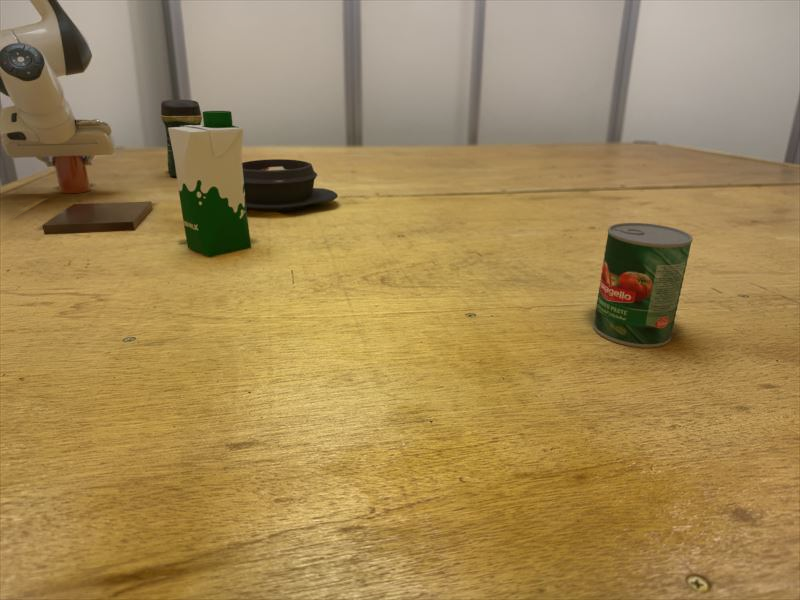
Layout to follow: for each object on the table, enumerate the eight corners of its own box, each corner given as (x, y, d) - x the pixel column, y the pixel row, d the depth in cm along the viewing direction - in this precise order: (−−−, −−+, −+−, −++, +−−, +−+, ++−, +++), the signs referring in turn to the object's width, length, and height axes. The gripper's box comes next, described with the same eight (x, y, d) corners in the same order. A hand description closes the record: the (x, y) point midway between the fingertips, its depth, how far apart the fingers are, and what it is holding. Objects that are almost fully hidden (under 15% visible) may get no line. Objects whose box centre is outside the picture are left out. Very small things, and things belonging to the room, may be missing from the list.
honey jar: (56, 193, 120) (44, 141, 116) (65, 188, 126) (54, 138, 122) (86, 193, 122) (75, 141, 117) (94, 187, 127) (84, 138, 123)
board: (44, 234, 92) (42, 225, 91) (75, 211, 106) (73, 203, 105) (134, 230, 94) (132, 221, 94) (152, 208, 109) (151, 201, 108)
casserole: (213, 222, 100) (207, 175, 97) (211, 200, 116) (206, 160, 113) (347, 213, 107) (346, 169, 104) (328, 194, 123) (326, 155, 120)
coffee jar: (171, 179, 138) (160, 100, 131) (167, 174, 144) (156, 98, 137) (211, 176, 142) (202, 100, 135) (205, 171, 149) (196, 98, 142)
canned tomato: (681, 330, 60) (703, 232, 56) (656, 355, 54) (678, 249, 50) (609, 310, 65) (625, 218, 60) (580, 331, 59) (595, 232, 55)
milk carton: (259, 248, 86) (247, 112, 78) (204, 260, 80) (185, 115, 72) (231, 236, 91) (217, 109, 84) (178, 247, 85) (158, 111, 78)
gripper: (107, 108, 114) (121, 150, 126) (-9, 108, 108) (18, 153, 120) (108, 132, 112) (122, 173, 124) (-10, 134, 105) (17, 177, 118)
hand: (70, 163), depth 122 cm, fingers closed on honey jar, 6 cm apart
